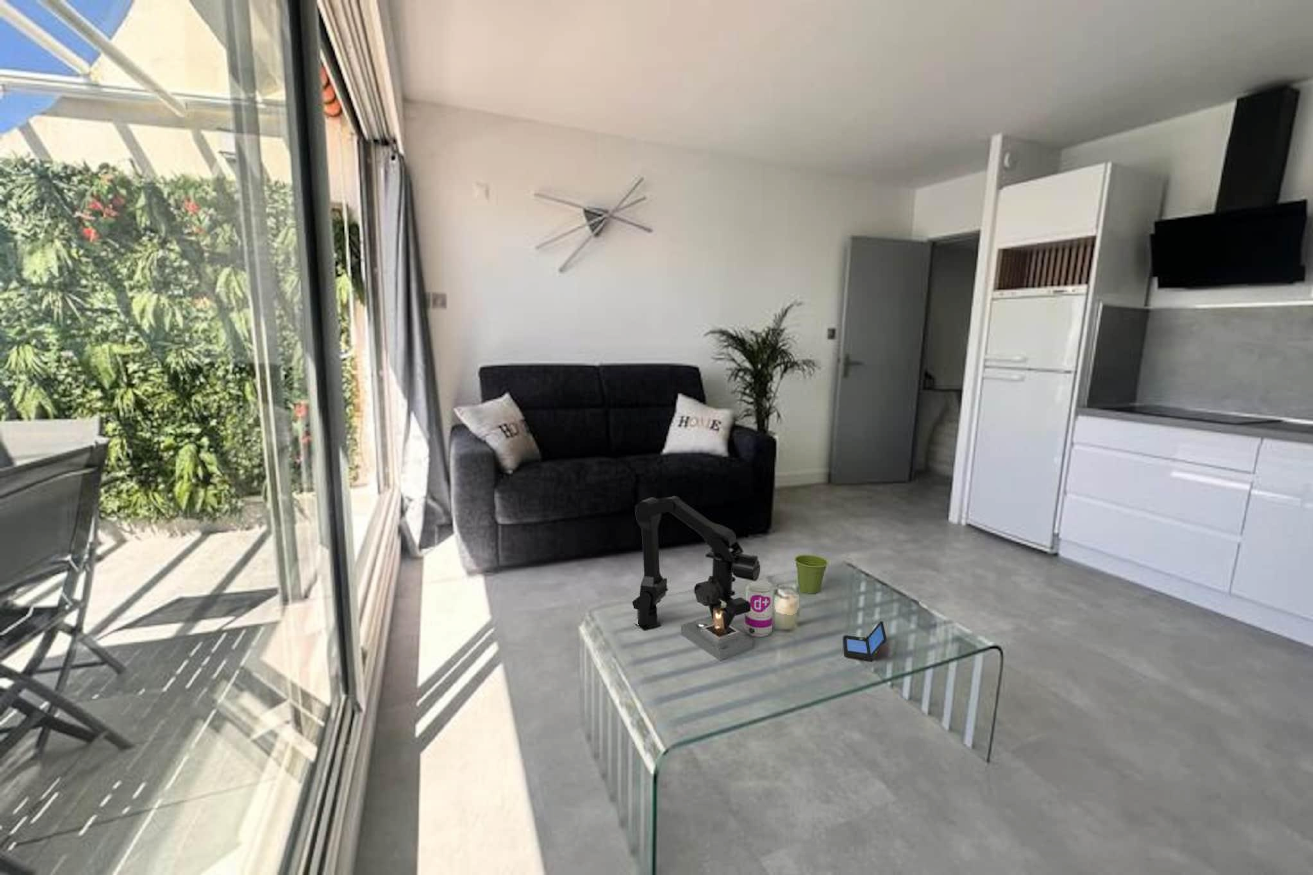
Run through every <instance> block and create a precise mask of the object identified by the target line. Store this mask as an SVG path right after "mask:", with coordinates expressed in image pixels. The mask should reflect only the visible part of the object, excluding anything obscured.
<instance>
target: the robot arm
mask: <svg viewBox="0 0 1313 875" xmlns="http://www.w3.org/2000/svg"><path fill="white" fill-rule="evenodd" d="M634 513H635V517H636V518H635V519H636V522H637V523H638V525H639V527H640V528H641V539H642V540H641V541H642V560H643V562H642V563H643V577H642V579H641V580H642V581H641V583H640V587H639V596H637V598H635V599H634V600H633V601H632V602H631V603H632V607H633V609H634V610H637V612H636V615H637V616H636V617H637V619H638V624H639V626H640V627H639V628H640V629H641V628H642V629H643V631H646V630H647V631H648V630H651V629H653V628H657V627H661V625H662V623H661V622H659V621H658V607H657V604H659V603H660V602H662V599H663V598H664V597H665V596H666V595H667V591H669V588H668V585H667V584H668V578H667V577H663V576H662V574H661V572H660V571H661V570H660V569H661V568H660V549H659V548H660V547H659V534H658V528H659V524H660V522H661V519H662V514H665V513H670V514H672V515H673V516H675V517H676V518H677V519H679V520H680V521H682V522H683V523H684V524H686V525H687V526H688V527H689V528H691V529H692V530H694V531H695V532H697V533H698V534H699V535H700V536H701V537H702V538H703V539H704V541H705V543H706V544H707V545H708V546H709V547H710V550H709V552H708V553H706V554H705V557H706V558H709V559H712V573H711V575H709V576H708V580H705V581H701V582H697V583H696V584H695V585H694V590H693V593H694V594H695V599H696V602H697V603H700V604H701V605H702V606H704V607H708V609H709V611H710V616H712V619H713V608H714V606H717V605H722V603H723V604H725V605H724V606H725V608H721V609H720V610H721V611H722V612H723V613H724V629H728V628H729V626H731V624H732V622H733V620H734V619H735V617H736V616H739V615H743V614H745V613H747V612H750V611H751V603H750V602H749V601H747V600H745V599H744V598H742V597H741V596H740V597H737V598H732V596H735V595H736V591H735V590H733V583H735V582H736V578H737V579H743V580H748V581H757V580H759V577H760V573H761V565H760V561H759V556H758V555H754V554H753V555H750V554H745V553H744V550H743V549H742V546H741V545H740V544H739V542H738V539H737V536H736V533H735V531H733V530H732V529H730V528H728V527H727V526H724V525H722V524H718V523H715V522H712V521H711V520H709V519H708V518H706V517H705V516H704V515H702V514H701V513H699V512H698V511H696V510H695V509H694V508H693V507H692V506H690V505H689V504H687V503H686V502H684V501H683V500H681V498H680V497H679V496H677V495H676V496H675V495H673V496H671V497H670V496H669V497H663V498H656V497H649V498H647V499H643V500H642V501H640V502H638V503H637V504H636V505H635V507H634ZM637 619H636V620H637ZM656 626H657V627H656ZM642 629H641V630H642Z"/></svg>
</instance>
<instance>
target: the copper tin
mask: <svg viewBox="0 0 1313 875" xmlns="http://www.w3.org/2000/svg"><path fill="white" fill-rule="evenodd" d="M725 606H726V605H724V604H721V605H717V606H714V608H713V634H715V635H717V636H718V637H721V636H724V635H727V634H728V629H724V613H723V612H722V611H721V610H720V609H721V608H725Z"/></svg>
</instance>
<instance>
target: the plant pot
mask: <svg viewBox="0 0 1313 875" xmlns="http://www.w3.org/2000/svg"><path fill="white" fill-rule="evenodd" d="M793 560H794V562H795V567H796V569H797V570H796V572H797V580H798V583H797V584H798V588H799V590H800V592H802V593H803V594H804V593H805V594H808V595H812V594H819V593H820V591H821V587H822V584H823V579H824V575H825V572H826V569H827V566H828V565H829V561H828V560H827V559H825V558H824V557H821V556H818V555H811V554H802V555H801V554H800V555H797V556H795V557H794V559H793Z"/></svg>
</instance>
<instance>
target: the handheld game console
mask: <svg viewBox="0 0 1313 875" xmlns="http://www.w3.org/2000/svg"><path fill="white" fill-rule="evenodd" d="M842 642H843V644H842V645H843V646H842V647H843V655H844V657H845V658H846V657H847V658H846V659H850V658H851V659H852V660H857V661H863V662H864V661H865V662H870V663H872V662H873V658H874V656H876V654H877V653H878V652H879V651H880V650H881V648H883V647H884V645H885V644H886V643H887V635H886V630H885V624H884V621H882V620H881V621H879V623H877V625H876V626H875V628H874V629H872V631H871V632H870V633H869V635H867V636H865V637H862V636H861V637H860V636H856V635H855V636H854V635H848V634H847V635H846V634H845V635H843V636H842ZM851 659H850V660H851Z"/></svg>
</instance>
